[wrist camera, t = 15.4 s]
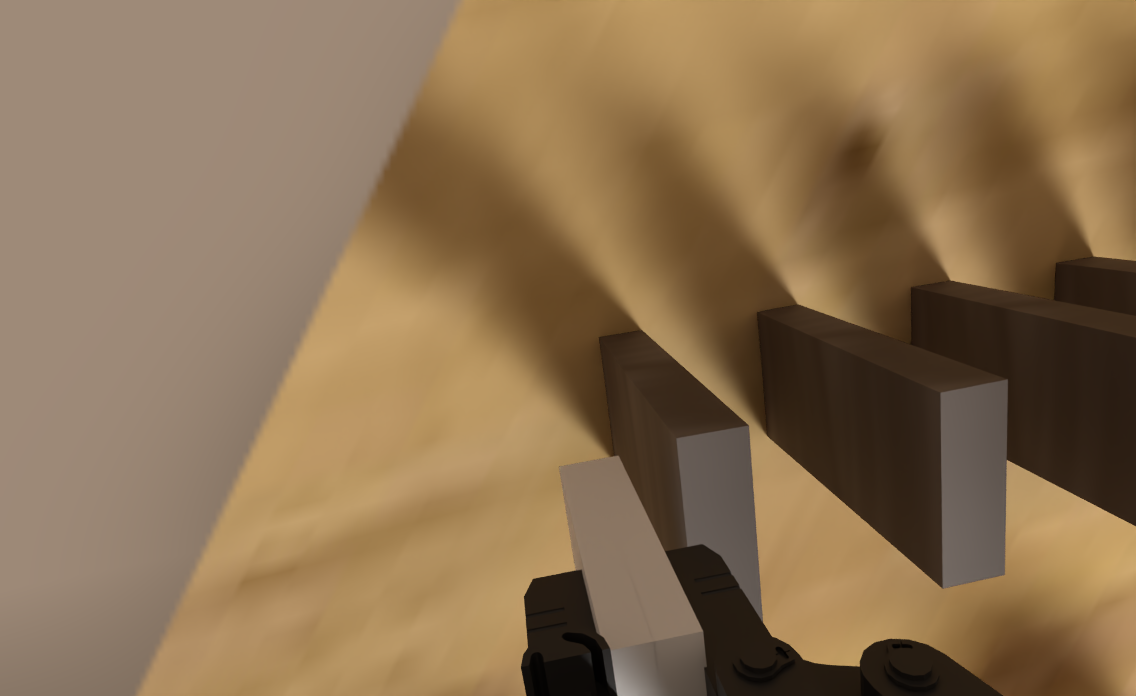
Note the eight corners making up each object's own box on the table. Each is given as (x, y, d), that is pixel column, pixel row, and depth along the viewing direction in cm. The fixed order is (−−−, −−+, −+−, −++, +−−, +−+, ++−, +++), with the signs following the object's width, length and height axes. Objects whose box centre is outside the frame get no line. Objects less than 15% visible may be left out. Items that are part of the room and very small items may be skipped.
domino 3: (912, 410, 26) (1168, 542, 16) (911, 287, 24) (1189, 349, 15) (949, 403, 26) (1227, 530, 16) (951, 280, 24) (1251, 337, 15)
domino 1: (615, 463, 25) (697, 638, 15) (599, 337, 23) (676, 438, 14) (655, 455, 25) (763, 624, 15) (641, 330, 23) (748, 425, 14)
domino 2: (767, 436, 25) (942, 588, 15) (757, 312, 24) (940, 392, 14) (806, 428, 25) (1004, 574, 16) (798, 304, 24) (1007, 379, 14)
